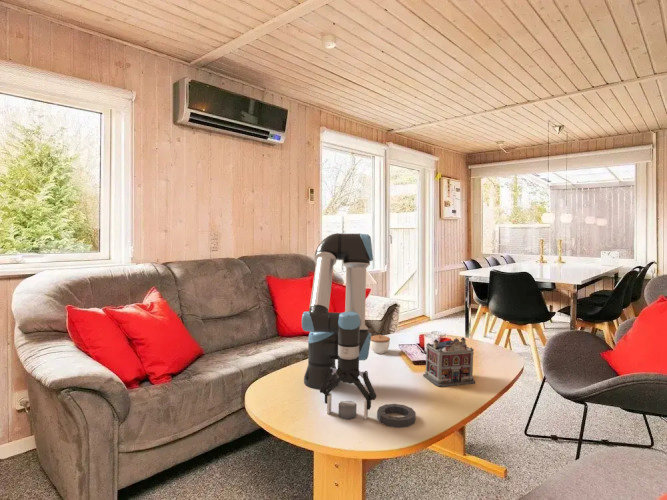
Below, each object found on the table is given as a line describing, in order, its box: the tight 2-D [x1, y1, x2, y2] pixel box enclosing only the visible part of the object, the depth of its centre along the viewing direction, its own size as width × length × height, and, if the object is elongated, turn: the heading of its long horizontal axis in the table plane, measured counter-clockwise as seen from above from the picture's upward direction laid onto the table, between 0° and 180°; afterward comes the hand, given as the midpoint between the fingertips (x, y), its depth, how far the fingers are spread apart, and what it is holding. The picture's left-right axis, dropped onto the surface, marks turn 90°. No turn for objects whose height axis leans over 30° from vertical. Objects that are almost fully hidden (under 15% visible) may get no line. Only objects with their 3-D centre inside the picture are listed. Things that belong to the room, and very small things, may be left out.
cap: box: [337, 400, 357, 420], centre depth 153 cm, size 6×6×5 cm
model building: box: [422, 337, 477, 388], centre depth 190 cm, size 19×14×20 cm
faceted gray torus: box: [376, 403, 417, 429], centre depth 151 cm, size 13×13×2 cm
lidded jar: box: [369, 334, 391, 355], centre depth 230 cm, size 11×11×9 cm
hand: (347, 415), depth 153 cm, fingers open, 13 cm apart
